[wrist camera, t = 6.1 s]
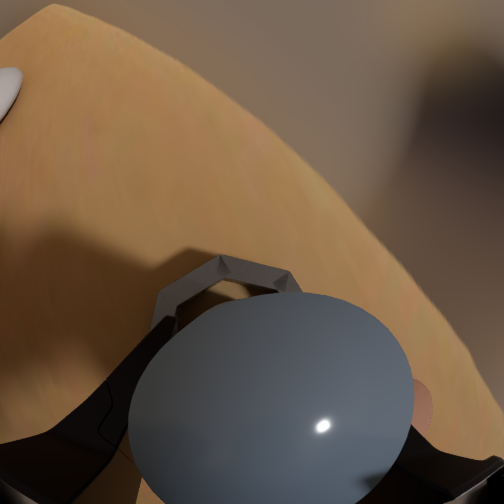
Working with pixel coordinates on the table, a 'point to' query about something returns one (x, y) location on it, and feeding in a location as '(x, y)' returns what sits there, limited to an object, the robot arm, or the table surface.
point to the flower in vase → (9, 87)
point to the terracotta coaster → (421, 408)
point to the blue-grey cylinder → (272, 404)
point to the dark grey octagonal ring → (213, 274)
